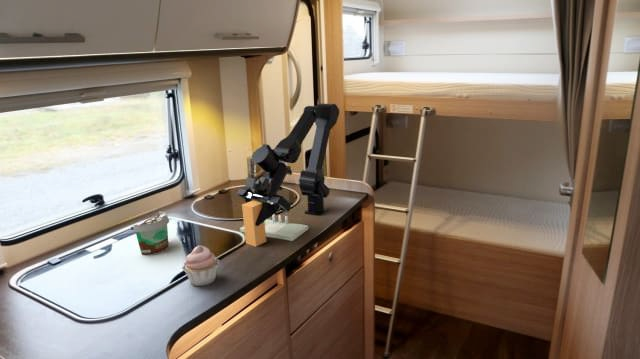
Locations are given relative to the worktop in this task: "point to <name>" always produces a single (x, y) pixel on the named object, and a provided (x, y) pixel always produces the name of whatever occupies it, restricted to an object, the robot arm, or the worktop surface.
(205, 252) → the cupcake
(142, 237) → the food container
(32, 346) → the worktop surface
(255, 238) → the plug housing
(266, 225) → the board
